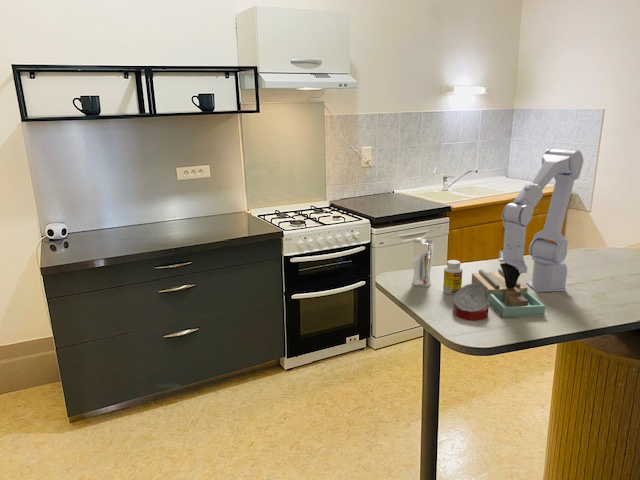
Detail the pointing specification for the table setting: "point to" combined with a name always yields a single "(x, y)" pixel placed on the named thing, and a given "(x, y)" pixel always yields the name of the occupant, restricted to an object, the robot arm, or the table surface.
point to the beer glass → (422, 261)
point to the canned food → (472, 302)
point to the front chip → (517, 301)
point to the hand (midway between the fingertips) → (510, 287)
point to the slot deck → (494, 281)
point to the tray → (517, 311)
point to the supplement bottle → (452, 277)
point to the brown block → (510, 294)
